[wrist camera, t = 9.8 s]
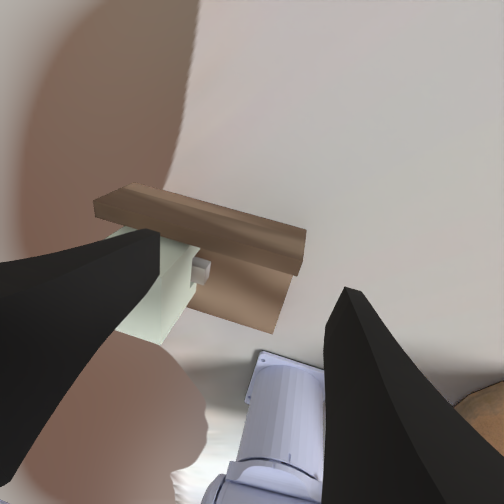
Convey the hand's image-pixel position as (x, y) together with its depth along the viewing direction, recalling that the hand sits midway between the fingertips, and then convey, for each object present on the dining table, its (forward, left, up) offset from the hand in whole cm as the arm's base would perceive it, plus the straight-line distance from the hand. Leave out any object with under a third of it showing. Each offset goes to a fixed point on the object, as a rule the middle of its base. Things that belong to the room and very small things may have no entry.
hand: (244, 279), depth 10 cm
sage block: (-7, +8, -9) cm, 13 cm away
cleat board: (-7, +5, -10) cm, 13 cm away
